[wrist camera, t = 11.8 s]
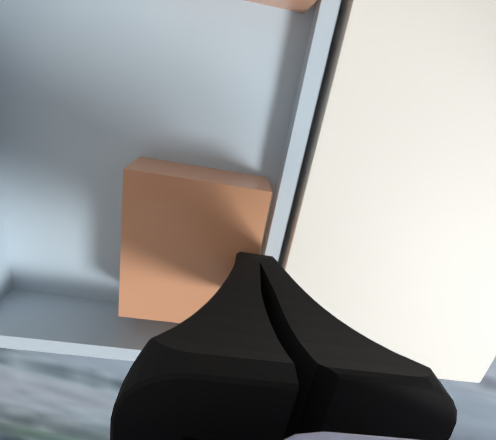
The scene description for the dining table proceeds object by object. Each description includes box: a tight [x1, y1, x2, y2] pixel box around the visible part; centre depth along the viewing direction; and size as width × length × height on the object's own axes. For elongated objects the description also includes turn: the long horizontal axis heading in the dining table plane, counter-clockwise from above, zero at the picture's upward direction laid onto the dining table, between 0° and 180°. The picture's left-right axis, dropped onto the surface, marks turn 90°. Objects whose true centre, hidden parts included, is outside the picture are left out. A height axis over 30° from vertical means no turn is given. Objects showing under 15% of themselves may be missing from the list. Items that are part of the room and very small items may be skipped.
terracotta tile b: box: [118, 156, 272, 323], centre depth 13 cm, size 5×6×2 cm
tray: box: [0, 0, 341, 361], centre depth 10 cm, size 12×21×3 cm, turn 170°
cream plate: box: [278, 0, 496, 383], centre depth 12 cm, size 11×22×2 cm, turn 170°
